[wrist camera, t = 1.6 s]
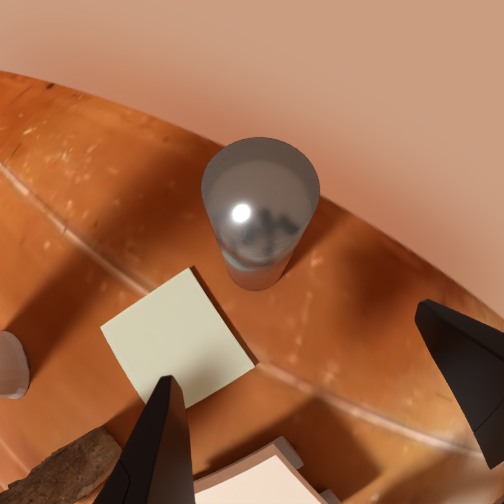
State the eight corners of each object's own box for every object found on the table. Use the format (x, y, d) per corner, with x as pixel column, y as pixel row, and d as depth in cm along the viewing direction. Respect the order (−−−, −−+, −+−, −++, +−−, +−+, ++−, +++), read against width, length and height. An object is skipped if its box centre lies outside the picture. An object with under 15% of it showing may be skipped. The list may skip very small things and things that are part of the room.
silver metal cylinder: (294, 269, 22) (343, 200, 10) (247, 302, 22) (244, 265, 10) (262, 225, 23) (273, 122, 11) (216, 255, 23) (180, 172, 11)
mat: (254, 366, 20) (255, 366, 20) (160, 421, 19) (158, 423, 19) (189, 268, 22) (188, 267, 22) (102, 327, 21) (100, 326, 21)
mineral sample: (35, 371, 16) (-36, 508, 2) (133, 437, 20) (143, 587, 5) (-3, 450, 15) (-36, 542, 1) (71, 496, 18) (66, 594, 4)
